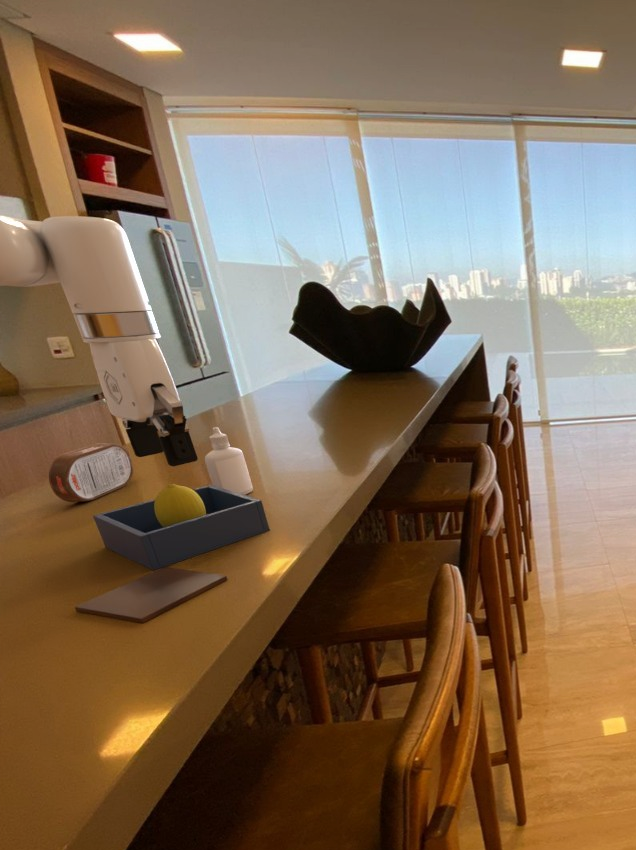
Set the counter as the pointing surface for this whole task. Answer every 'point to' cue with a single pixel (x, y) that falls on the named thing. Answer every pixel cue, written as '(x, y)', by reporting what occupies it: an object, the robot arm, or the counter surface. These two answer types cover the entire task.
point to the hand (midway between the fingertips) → (166, 458)
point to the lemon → (178, 505)
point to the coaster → (151, 594)
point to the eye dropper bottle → (227, 465)
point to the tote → (181, 528)
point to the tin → (90, 472)
